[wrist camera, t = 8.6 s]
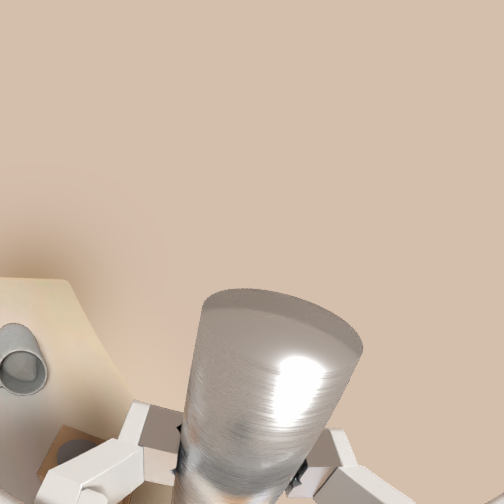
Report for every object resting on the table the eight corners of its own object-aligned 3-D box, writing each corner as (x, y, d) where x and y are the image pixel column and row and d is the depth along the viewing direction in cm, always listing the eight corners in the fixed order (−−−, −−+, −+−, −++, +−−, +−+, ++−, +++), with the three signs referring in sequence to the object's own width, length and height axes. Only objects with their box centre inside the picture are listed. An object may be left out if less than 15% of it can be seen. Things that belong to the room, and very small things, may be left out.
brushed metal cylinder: (165, 547, 6) (191, 353, 4) (173, 489, 9) (209, 278, 7) (250, 556, 7) (389, 377, 4) (246, 498, 10) (335, 303, 7)
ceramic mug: (38, 356, 35) (32, 314, 33) (52, 391, 30) (43, 346, 28) (-19, 364, 27) (-31, 320, 25) (-13, 403, 22) (-30, 357, 20)
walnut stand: (47, 502, 15) (28, 473, 13) (70, 451, 22) (60, 417, 21) (122, 531, 16) (115, 509, 14) (136, 474, 23) (134, 443, 22)
